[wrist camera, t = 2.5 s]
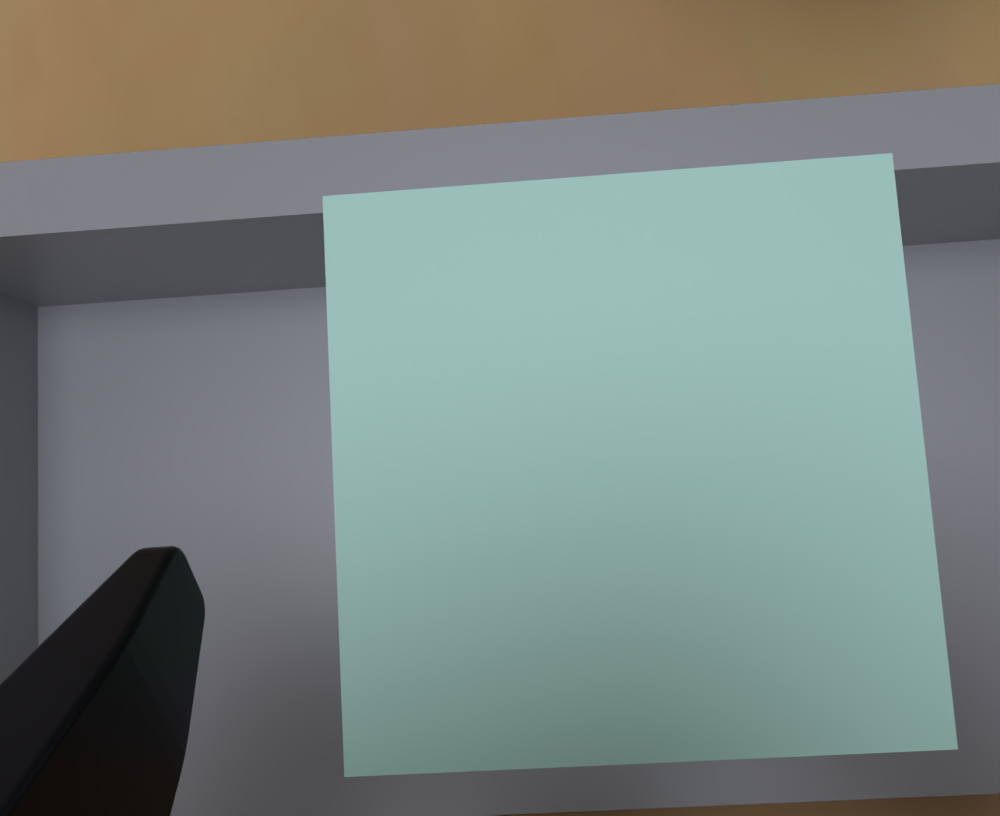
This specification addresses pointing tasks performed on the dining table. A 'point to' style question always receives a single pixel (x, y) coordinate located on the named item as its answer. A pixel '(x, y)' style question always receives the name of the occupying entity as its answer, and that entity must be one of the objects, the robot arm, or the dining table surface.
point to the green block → (631, 472)
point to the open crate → (308, 441)
